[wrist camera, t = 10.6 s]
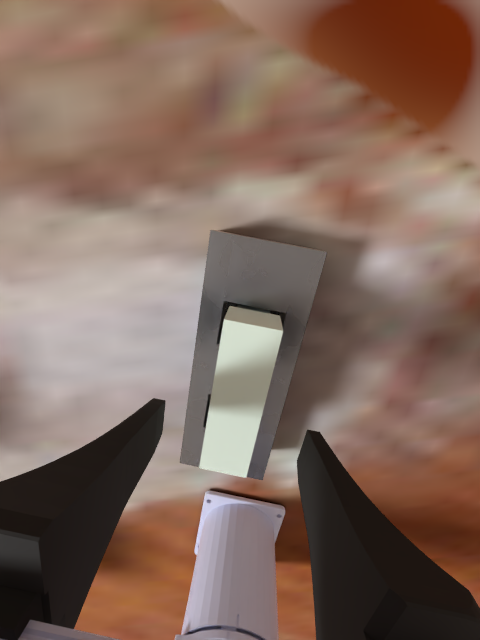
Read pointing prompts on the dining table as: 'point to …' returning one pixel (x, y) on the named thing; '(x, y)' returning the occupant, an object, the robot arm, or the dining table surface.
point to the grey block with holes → (258, 291)
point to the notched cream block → (240, 388)
